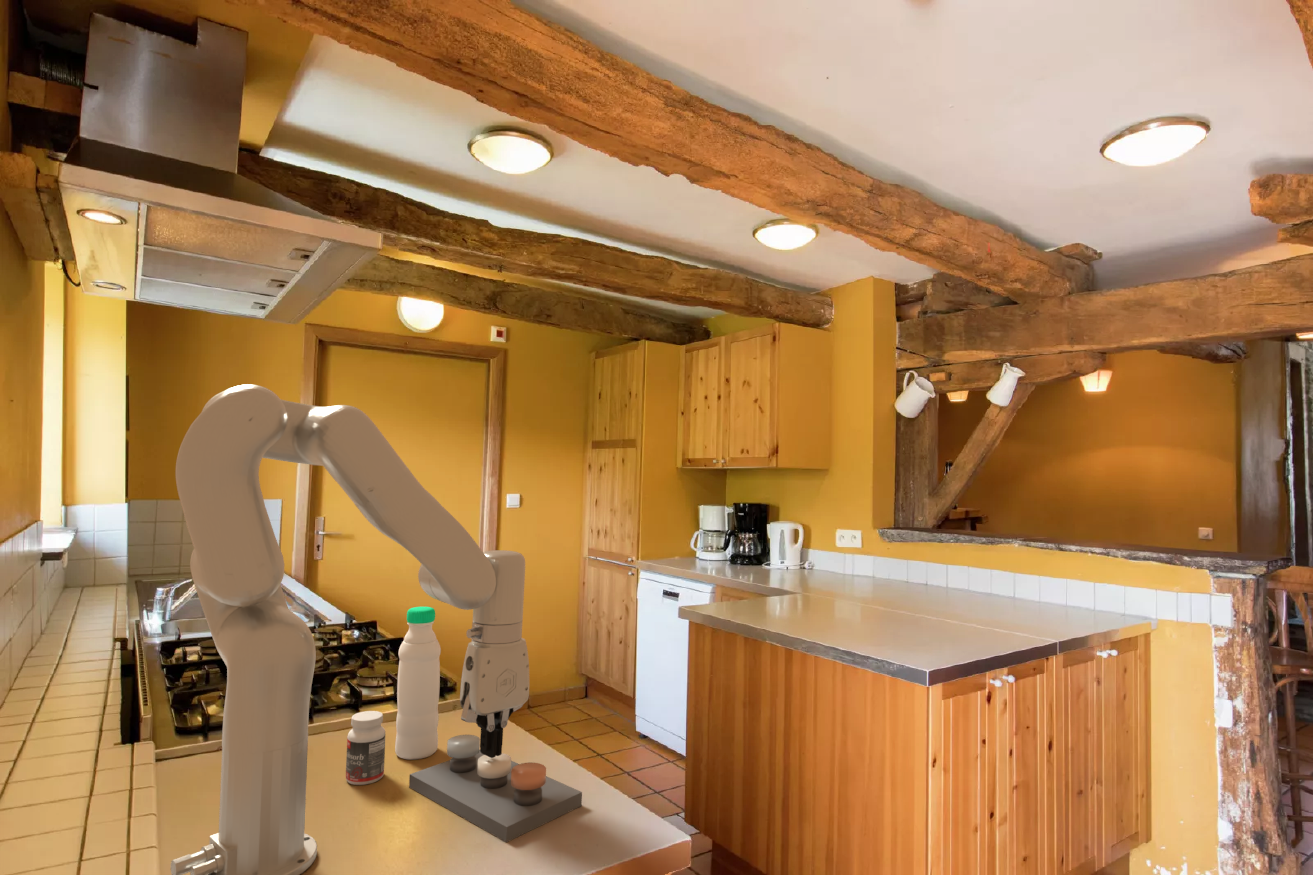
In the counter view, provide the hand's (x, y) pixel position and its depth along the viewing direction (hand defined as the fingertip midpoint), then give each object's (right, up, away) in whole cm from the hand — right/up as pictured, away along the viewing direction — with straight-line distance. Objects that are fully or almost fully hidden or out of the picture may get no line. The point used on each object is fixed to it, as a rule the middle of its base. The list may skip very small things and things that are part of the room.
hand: (490, 753), depth 109 cm
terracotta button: (+7, -2, -5) cm, 8 cm away
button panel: (0, -7, 0) cm, 7 cm away
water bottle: (-17, -7, +16) cm, 24 cm away
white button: (0, -3, 0) cm, 3 cm away
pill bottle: (-21, -7, +5) cm, 23 cm away
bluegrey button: (-6, -2, +6) cm, 8 cm away
